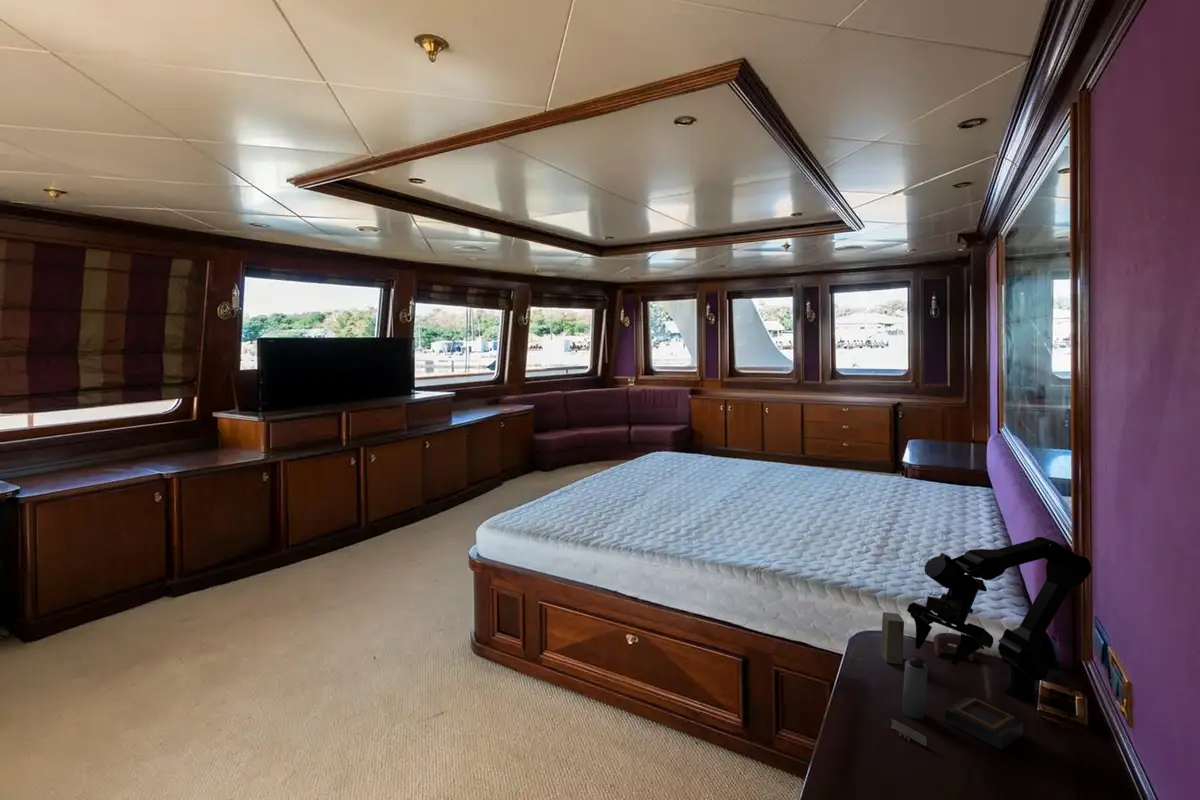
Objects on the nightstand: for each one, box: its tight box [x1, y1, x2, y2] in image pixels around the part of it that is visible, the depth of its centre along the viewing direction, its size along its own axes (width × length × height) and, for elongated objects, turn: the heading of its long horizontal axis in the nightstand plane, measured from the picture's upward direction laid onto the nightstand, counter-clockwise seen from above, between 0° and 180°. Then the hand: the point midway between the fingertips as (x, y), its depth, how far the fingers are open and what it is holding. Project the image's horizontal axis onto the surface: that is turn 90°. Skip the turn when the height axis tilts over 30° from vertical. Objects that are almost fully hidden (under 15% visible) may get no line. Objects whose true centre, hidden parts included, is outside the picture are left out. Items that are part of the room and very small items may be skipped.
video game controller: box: [933, 632, 975, 663], centre depth 176 cm, size 10×5×7 cm, turn 71°
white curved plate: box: [890, 718, 927, 747], centre depth 137 cm, size 4×8×3 cm, turn 34°
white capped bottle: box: [901, 655, 929, 720], centre depth 146 cm, size 5×5×14 cm
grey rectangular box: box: [944, 696, 1024, 751], centre depth 141 cm, size 10×12×4 cm
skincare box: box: [880, 611, 905, 665], centre depth 172 cm, size 6×4×12 cm
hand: (934, 656), depth 147 cm, fingers open, 9 cm apart
